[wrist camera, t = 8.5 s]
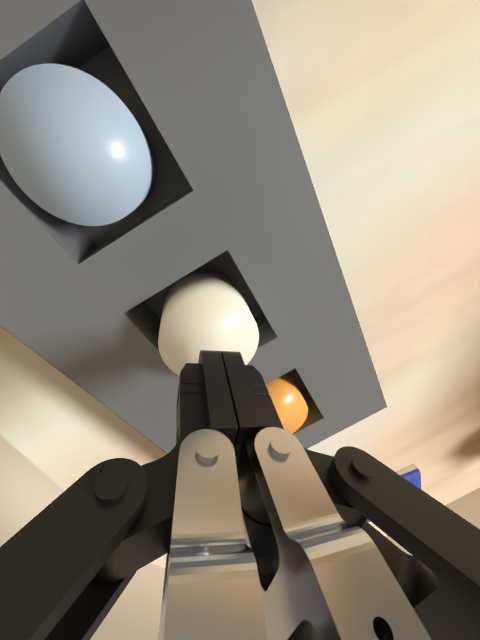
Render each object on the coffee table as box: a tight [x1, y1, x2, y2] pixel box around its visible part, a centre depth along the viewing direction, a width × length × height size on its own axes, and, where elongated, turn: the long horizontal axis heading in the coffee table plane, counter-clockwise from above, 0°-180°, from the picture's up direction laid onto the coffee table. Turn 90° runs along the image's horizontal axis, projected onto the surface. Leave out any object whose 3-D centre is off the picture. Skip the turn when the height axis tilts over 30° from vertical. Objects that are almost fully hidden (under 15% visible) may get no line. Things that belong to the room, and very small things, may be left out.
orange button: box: [265, 372, 308, 434], centre depth 18 cm, size 4×4×3 cm
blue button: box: [0, 64, 156, 226], centre depth 10 cm, size 4×4×3 cm
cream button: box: [158, 272, 259, 376], centre depth 13 cm, size 4×4×3 cm
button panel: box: [0, 0, 387, 454], centre depth 14 cm, size 26×14×4 cm, turn 30°
